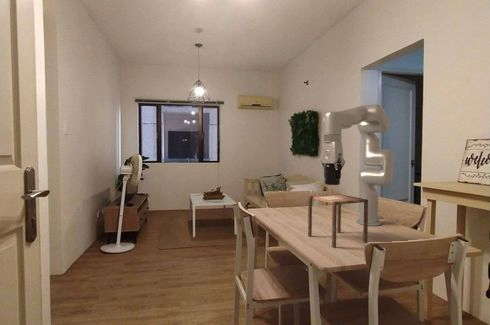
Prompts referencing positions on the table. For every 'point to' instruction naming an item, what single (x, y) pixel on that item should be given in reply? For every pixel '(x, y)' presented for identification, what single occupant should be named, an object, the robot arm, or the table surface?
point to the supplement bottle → (330, 175)
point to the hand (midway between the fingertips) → (332, 177)
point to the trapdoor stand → (339, 217)
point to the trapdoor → (334, 198)
